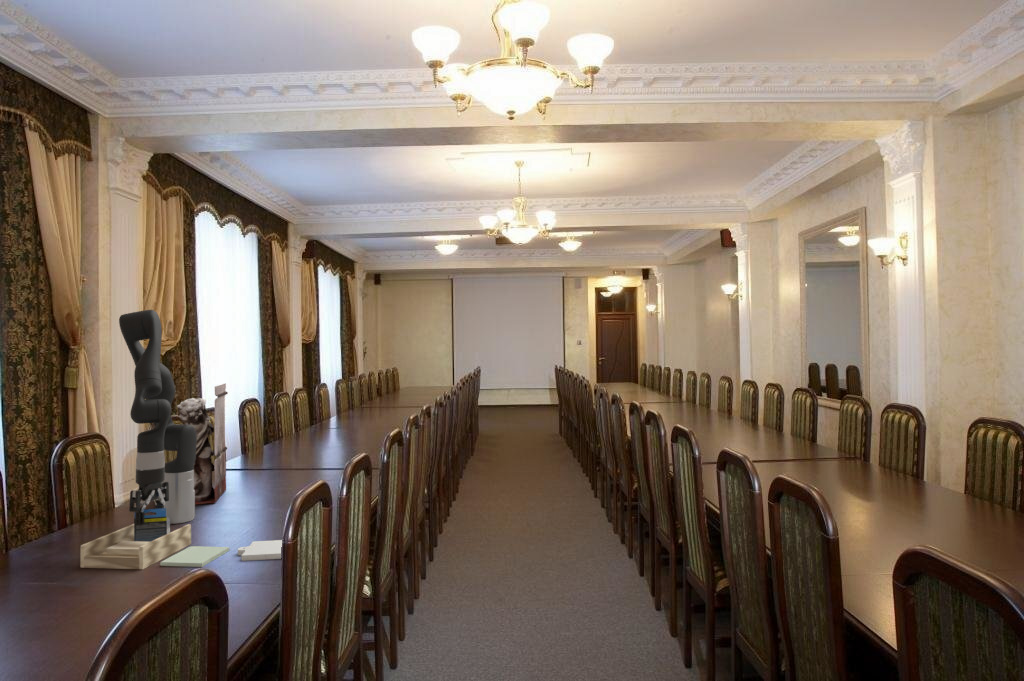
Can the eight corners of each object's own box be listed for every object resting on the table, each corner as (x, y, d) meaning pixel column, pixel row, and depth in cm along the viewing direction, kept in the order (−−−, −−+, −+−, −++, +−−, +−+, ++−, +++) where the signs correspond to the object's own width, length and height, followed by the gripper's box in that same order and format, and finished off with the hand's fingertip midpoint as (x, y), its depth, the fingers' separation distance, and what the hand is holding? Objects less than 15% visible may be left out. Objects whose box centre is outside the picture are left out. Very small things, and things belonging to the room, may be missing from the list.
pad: (190, 549, 188) (190, 546, 188) (229, 550, 187) (229, 547, 187) (160, 565, 174) (160, 562, 174) (202, 566, 173) (202, 563, 173)
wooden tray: (135, 542, 195) (135, 523, 195) (191, 544, 194) (191, 524, 194) (80, 567, 173) (80, 545, 173) (142, 569, 172) (142, 547, 172)
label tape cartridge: (170, 545, 192) (170, 504, 193) (166, 549, 189) (166, 507, 189) (138, 547, 190) (138, 506, 191) (133, 552, 187) (133, 509, 187)
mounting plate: (231, 562, 178) (231, 556, 178) (244, 548, 191) (244, 541, 191) (298, 559, 181) (298, 552, 181) (306, 545, 194) (306, 538, 194)
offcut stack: (118, 556, 184) (118, 540, 184) (157, 557, 183) (157, 541, 183) (100, 564, 177) (100, 548, 177) (141, 565, 176) (141, 549, 176)
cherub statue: (178, 493, 261) (178, 384, 261) (227, 491, 266) (227, 383, 266) (164, 507, 239) (164, 387, 239) (218, 504, 244) (218, 386, 244)
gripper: (154, 462, 197) (153, 515, 197) (121, 470, 183) (120, 527, 182) (177, 462, 196) (176, 515, 196) (145, 471, 182) (145, 528, 182)
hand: (149, 521), depth 189 cm, fingers open, 8 cm apart
